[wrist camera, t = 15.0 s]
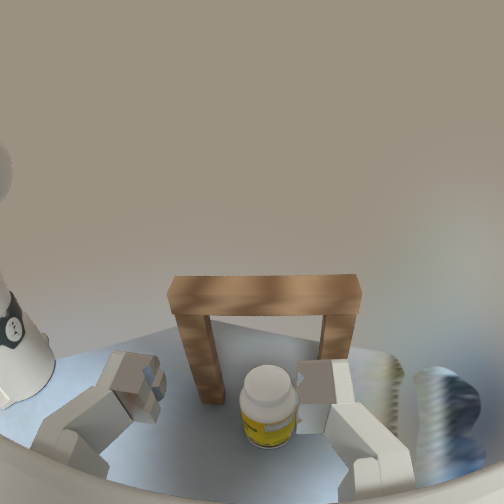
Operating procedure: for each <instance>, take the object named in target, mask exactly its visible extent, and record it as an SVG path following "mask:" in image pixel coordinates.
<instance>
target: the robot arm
mask: <svg viewBox="0 0 504 504" xmlns="http://www.w3.org/2000/svg"><path fill="white" fill-rule="evenodd" d="M11 181H12V162H11V158H10V155H9V153H8V151H7V149H6V147H5V146H4V145H3V143H2V142H1V141H0V202H2V201H3V200H4V199H5V198H6V196H7V194H8V192H9V189H10V186H11ZM54 365H55V358H54V354H53V352H52V350H51V349H50V347H49V338H48V336H47V335H46V334H45V333H40V331H39V330H38V329H37V327H36V326H35V324H34V323H33V321H32V320H31V318H30V316H29V315H28V314H27V312H26V311H23V310H21V308H20V306H19V304H18V301H17V299H16V298H15V297H14V295H13V293H12V292H11V291H9V290H8V288H7V285H6V283H5V281H4V279H3V277H2V274H1V272H0V409H6V408H8V407H9V406H11V405H12V404H13V403H15V402H18V401H21V400H25V399H27V398H29V397H31V396H33V395H35V394H36V393H37V392H39V391H40V390H41V389H42V388H43V387H44V386H45V384H46V383H47V382H48V380H49V379H50V377H51V375H52V372H53V369H54ZM159 365H160V361H159V359H158V357H157V356H152V355H144V354H137V353H130V352H122V351H114V352H113V353H112V354H111V356H110V358H109V360H108V362H107V364H106V366H105V368H104V370H103V372H102V374H101V376H100V378H99V380H98V382H97V384H96V386H95V387H93V386H91V387H90V388H88V389H87V390H86V391H84V392H83V393H81V394H80V395H78V396H77V397H76V398H74V399H73V400H71V401H70V402H68V403H67V404H65V405H64V406H63V407H61V408H60V409H58V410H57V411H55V412H54V413H52V414H51V415H50V416H48V417H47V418H45V419H44V420H43V422H42V424H41V426H40V428H39V430H38V432H37V434H36V437H35V439H34V441H33V443H32V445H31V447H30V449H28V448H26V447H24V446H22V445H20V444H18V443H16V442H14V441H12V440H10V439H9V438H7V437H5V436H3V435H1V434H0V504H230V503H220V502H211V501H203V500H196V499H189V498H183V497H177V496H172V495H166V494H161V493H157V492H152V491H148V490H143V489H139V488H135V487H131V486H128V485H124V484H120V483H117V482H113V481H110V480H107V479H106V477H107V474H108V471H109V467H110V466H109V464H108V463H107V462H106V461H105V460H104V459H103V458H102V457H101V456H100V455H99V454H100V453H101V452H102V451H103V450H104V449H106V448H107V447H108V446H109V445H110V444H111V443H112V442H113V441H114V440H115V439H116V438H117V437H118V436H119V435H120V434H121V433H122V432H123V431H124V430H125V429H126V428H127V427H129V426H130V425H131V424H132V423H133V421H138V422H144V423H151V424H156V422H157V418H158V415H159V412H160V409H161V408H160V406H159V404H158V402H159V401H160V400H161V399H163V398H164V395H165V392H166V376H165V374H164V371H162V370H161V369H160V368H159ZM296 405H297V409H296V434H323V435H324V437H325V438H326V439H327V441H328V442H329V443H330V445H331V446H332V447H333V449H334V450H335V451H336V453H337V454H338V455H339V457H340V458H341V459H342V461H343V462H344V463H345V465H346V466H347V467H348V469H349V472H348V473H347V475H346V476H345V478H344V479H343V481H342V482H341V484H340V485H339V487H338V503H331V504H504V460H503V461H500V462H498V463H495V464H493V465H491V466H488V467H486V468H483V469H481V470H478V471H475V472H473V473H470V474H467V475H464V476H461V477H458V478H455V479H452V480H449V481H446V482H442V483H439V484H435V485H432V486H428V487H424V488H421V489H417V490H416V485H415V479H414V474H413V468H412V463H411V458H410V453H409V450H408V449H407V448H406V447H405V446H404V445H403V444H402V443H401V442H400V441H399V440H398V439H397V438H396V437H395V436H394V435H393V434H392V433H391V432H390V431H389V430H388V429H387V428H386V427H385V426H384V425H383V424H382V423H381V422H380V421H379V420H378V419H377V418H376V417H375V416H374V415H373V414H372V413H371V412H370V411H369V410H368V409H367V408H366V407H365V406H364V405H363V404H362V403H361V402H355V397H354V391H353V385H352V379H351V374H350V368H349V363H348V360H347V359H332V360H330V359H326V360H304V361H298V362H297V377H296Z"/></svg>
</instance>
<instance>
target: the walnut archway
mask: <svg viewBox="0 0 504 504" xmlns="http://www.w3.org/2000/svg"><path fill="white" fill-rule="evenodd" d="M361 296H362V291H361V288H360V285H359V282H358V279H357V276H356V274H345V275H344V274H341V275H292V276H175V278H174V280H173V282H172V284H171V286H170V288H169V290H168V293H167V297H168V300H169V304H170V308H171V312H172V314H175V317H176V321H177V325H178V329H179V332H180V336H181V339H182V342H183V346H184V349H185V352H186V356H187V359H188V362H189V365H190V369H191V372H192V375H193V378H194V381H195V384H196V387H197V390H198V393H199V396H200V399H201V402H202V403H206V404H220V405H224V399H225V389H224V384H223V380H222V375H221V371H220V366H219V361H218V357H217V352H216V347H215V342H214V337H213V332H212V327H211V322H210V317H209V315H218V316H296V315H297V316H300V315H323V321H322V330H321V338H320V346H319V354H318V360H326V359H330V360H332V359H347V358H348V353H349V349H350V344H351V339H352V335H353V330H354V325H355V320H356V315H357V314H358V313H359V307H360V301H361Z"/></svg>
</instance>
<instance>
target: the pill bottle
mask: <svg viewBox="0 0 504 504" xmlns="http://www.w3.org/2000/svg"><path fill="white" fill-rule="evenodd" d="M239 404H240V409H241V414H242V419H243V425H244V431H245V434H246V437H247V438H248V440H249V441H250V442H251V443H252V444H253V445H255V446H257V447H259V448H263V449H274V448H278V447H281V446H283V445H284V444H286V443H287V442H288V441H289V440H290V438H291V437H292V435H293V431H294V425H295V417H296V407H297V405H296V391H295V389H294V387H293V386H292V385H291V380H290V377H289V375H288V373H287V372H286V371H285V370H283V369H282V368H280V367H278V366H275V365H261V366H258V367H256V368H254V369H252V370H251V371H250V372H249V373H248V374H247V375H246V377H245V380H244V387H243V389H242V390H241V393H240V397H239Z"/></svg>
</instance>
